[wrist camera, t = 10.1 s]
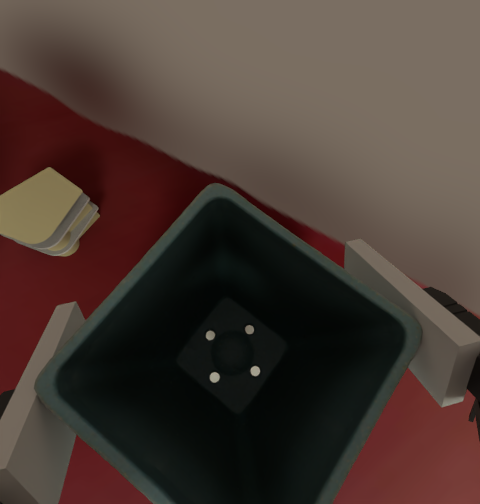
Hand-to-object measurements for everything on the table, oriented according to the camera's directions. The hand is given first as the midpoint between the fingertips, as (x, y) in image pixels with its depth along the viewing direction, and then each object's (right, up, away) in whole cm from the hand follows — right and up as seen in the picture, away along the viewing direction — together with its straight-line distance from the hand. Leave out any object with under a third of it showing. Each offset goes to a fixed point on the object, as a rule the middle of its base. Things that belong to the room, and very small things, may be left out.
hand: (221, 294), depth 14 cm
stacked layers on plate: (-17, +4, +18) cm, 25 cm away
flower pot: (0, -4, +4) cm, 5 cm away
